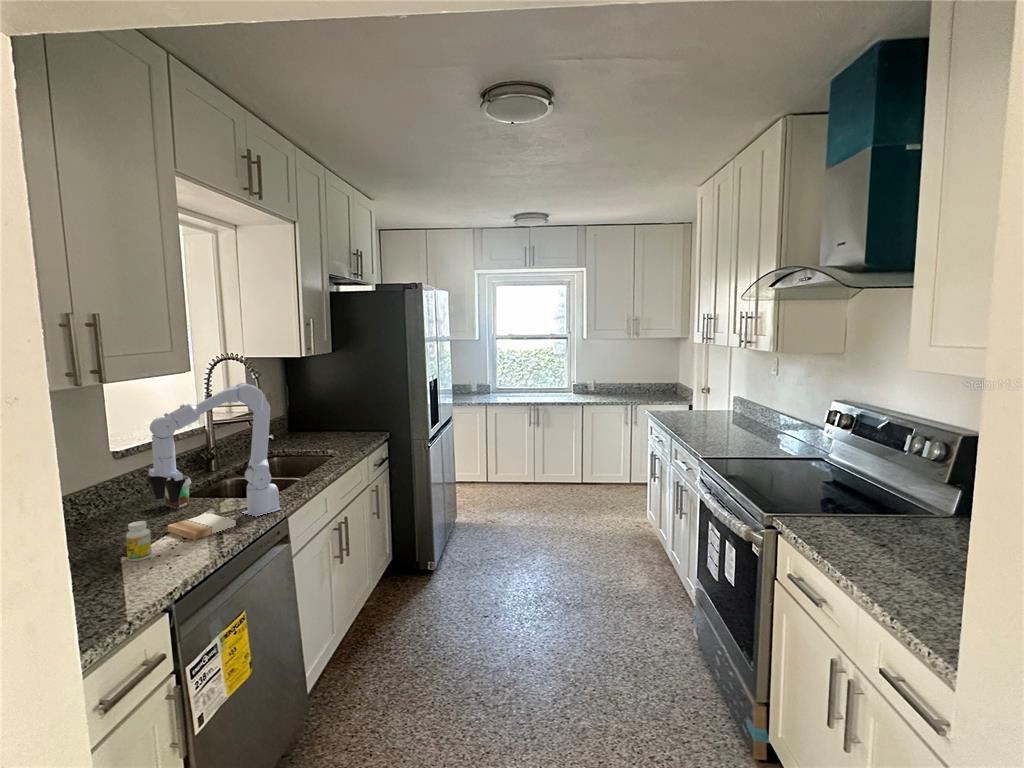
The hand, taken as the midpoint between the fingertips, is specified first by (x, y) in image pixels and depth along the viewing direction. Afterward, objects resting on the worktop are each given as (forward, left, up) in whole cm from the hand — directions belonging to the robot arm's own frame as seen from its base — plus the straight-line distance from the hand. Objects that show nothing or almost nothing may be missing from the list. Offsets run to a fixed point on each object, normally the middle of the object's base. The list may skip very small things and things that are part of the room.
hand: (167, 500), depth 162 cm
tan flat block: (-2, +8, -10) cm, 12 cm away
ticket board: (-8, +8, -10) cm, 15 cm away
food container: (-16, -22, -10) cm, 29 cm away
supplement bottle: (+15, +14, -10) cm, 23 cm away
